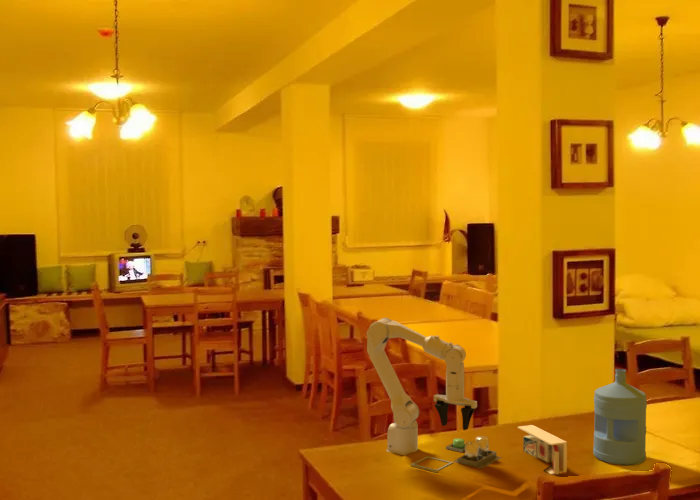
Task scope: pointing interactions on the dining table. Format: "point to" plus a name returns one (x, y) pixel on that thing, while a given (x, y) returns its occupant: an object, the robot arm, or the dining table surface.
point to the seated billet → (483, 445)
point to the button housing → (455, 448)
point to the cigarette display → (545, 448)
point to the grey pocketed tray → (481, 462)
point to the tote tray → (430, 468)
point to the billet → (472, 450)
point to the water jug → (620, 422)
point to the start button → (458, 443)
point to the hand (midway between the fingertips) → (454, 427)
